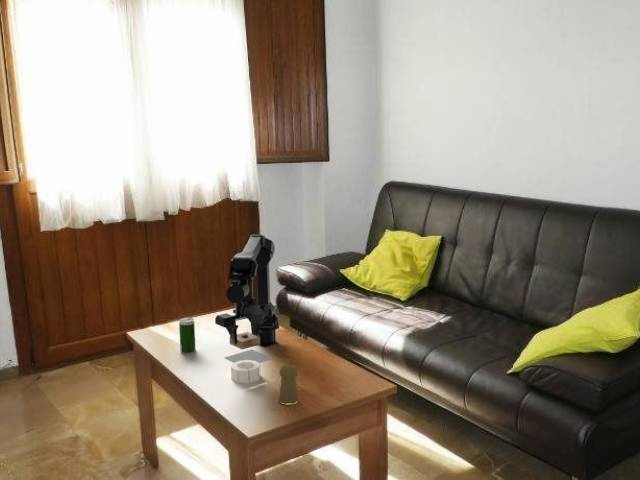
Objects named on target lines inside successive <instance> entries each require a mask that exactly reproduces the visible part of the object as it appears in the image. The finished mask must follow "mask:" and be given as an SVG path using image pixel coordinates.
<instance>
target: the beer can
mask: <svg viewBox="0 0 640 480" xmlns="http://www.w3.org/2000/svg"><path fill="white" fill-rule="evenodd" d="M194 319H195V318H192V317H184V318H180V319H179V323H178V326H179V328H178V329H179V348H180V349H179V351H180V353H181V354H187V355H189V354H193V353H195V352H196V350H197V349H196V328H195V327H196V326H195V320H194Z"/></svg>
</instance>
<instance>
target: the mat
mask: <svg viewBox="0 0 640 480" xmlns="http://www.w3.org/2000/svg"><path fill="white" fill-rule="evenodd" d="M224 359H225V360H227V361H229V362H231V363H232V364H233V363H234V362H238V361H241V360H242V361H243V360H253V361H256V362H258V363H260V364H261V363H264V362H267V361H270V360H273V358H271V357H270V356H268V355H265V354H263V353H261V352H259V351H257V350H255V349H252V348H251V349H249V350H245V351H242V352H241V351H240V352H239V353H235V354H231V355H229V356H225V357H224Z"/></svg>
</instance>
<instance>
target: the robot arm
mask: <svg viewBox="0 0 640 480" xmlns="http://www.w3.org/2000/svg"><path fill="white" fill-rule="evenodd" d="M248 236H249V237H248V241H247V243H246V244H245V246H244V248H243V249H242V251H241V252H238V253H236V254H235V255H234V256H233V257H232V259H231V260H230V264H229V271H228V276H227V280H229V281H231V280H232V281H231V285H230V286H228V288H227V289H226V293H225V296H226V299H227V300H228V302H230V303H232V304H234V308H235V309H232V313H233V315H231V314H230V313H226V312H225V313H221V314H217V315H216V316H215V318H214V319H215V320H214V322H215V325H217V326H220V327H222V328H225V329H226V331H227V333H228V335H229V338H230V337H231V339H232V341H233V343H234V344H235V345H236V344H237V334H238V328H239V327H240V326H239V325H238V324H237V321H241V320H246V319H247V320H248V321H249V323H250V329H251V334H254V335H256V336H259V337H260V345H259V346H261V347H264V348H266V347H267V348H268V347H270V346H274V345H277V344H279V341H277V339H276V338H277V337H276V333H277V330H279V329H280V322H279V321H280V319H279V318H278V315H277V313H276V308H275V305H273V303H272V302H271V285H270V284H271V281H270V263H271V261H272V259H273V258H274V254H275V250H276V249H275V248H276V247H275V243H274V242H273V240H271V239H269V238H267V237H266V236H265V235H263V234H249V235H248ZM254 278H256V286H257V287H256V289H257V293H256V294H257V299H256V298H255V297H254Z"/></svg>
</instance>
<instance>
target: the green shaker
mask: <svg viewBox="0 0 640 480" xmlns="http://www.w3.org/2000/svg"><path fill="white" fill-rule="evenodd" d="M297 375H298V369H297V367H296V366H295V365H293V364H285V365H282V366H281V367H280V369H279V376H280V378H281V379H280V388H279V396H278V403H279V402H281V403H285V404H286V403H295V402H296V401H298V399H299V400H300V398H299V391H298V386H297V385H298V384H297V379H296V378H297Z"/></svg>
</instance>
